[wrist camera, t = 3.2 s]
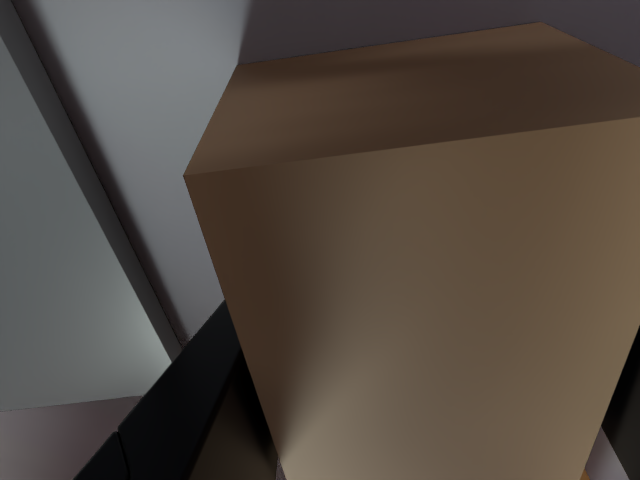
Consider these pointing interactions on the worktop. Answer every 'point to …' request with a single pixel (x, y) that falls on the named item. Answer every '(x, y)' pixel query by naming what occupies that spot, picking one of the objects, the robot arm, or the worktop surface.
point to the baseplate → (64, 257)
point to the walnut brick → (429, 250)
